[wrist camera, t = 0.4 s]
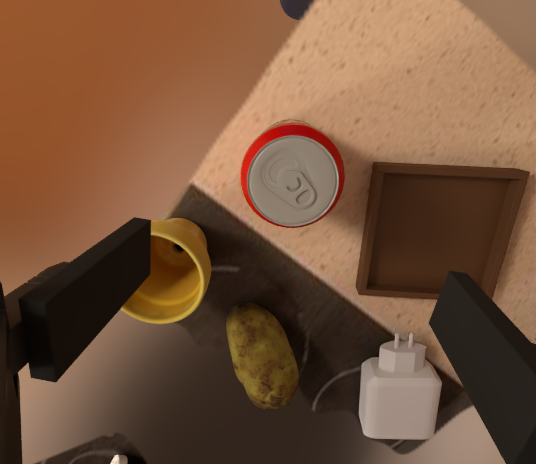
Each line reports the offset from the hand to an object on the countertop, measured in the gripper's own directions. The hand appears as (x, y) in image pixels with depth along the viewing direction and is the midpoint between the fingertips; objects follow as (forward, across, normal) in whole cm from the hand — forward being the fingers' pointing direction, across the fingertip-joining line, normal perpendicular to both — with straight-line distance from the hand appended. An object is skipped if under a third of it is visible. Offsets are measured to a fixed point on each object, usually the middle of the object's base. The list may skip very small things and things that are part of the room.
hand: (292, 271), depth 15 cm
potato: (+24, -1, -23) cm, 34 cm away
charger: (+25, +18, -25) cm, 40 cm away
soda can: (+25, -1, +1) cm, 25 cm away
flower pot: (+24, -13, -12) cm, 30 cm away
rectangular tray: (+26, +16, -5) cm, 31 cm away
